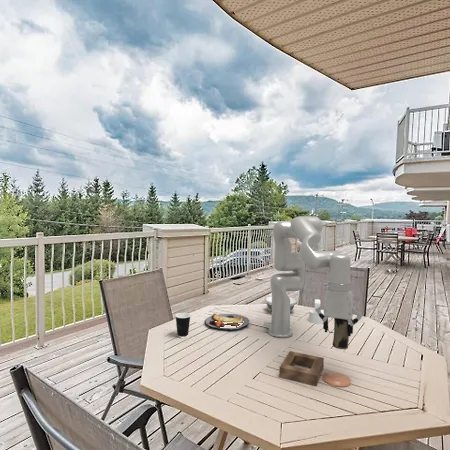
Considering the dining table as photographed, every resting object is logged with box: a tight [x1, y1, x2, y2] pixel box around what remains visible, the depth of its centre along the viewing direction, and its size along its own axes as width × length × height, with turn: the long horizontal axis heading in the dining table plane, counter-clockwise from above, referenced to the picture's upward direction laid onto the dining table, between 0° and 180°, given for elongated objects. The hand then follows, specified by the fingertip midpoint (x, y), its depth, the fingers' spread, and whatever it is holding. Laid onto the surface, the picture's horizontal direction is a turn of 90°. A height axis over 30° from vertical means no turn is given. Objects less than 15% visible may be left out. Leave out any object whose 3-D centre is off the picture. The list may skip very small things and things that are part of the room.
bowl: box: [265, 295, 296, 312], centre depth 203 cm, size 19×19×8 cm
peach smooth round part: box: [322, 371, 351, 388], centre depth 121 cm, size 10×10×1 cm
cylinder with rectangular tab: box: [308, 298, 325, 325], centre depth 186 cm, size 9×9×12 cm
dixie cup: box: [174, 312, 192, 338], centre depth 162 cm, size 8×8×11 cm
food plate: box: [204, 313, 251, 330], centre depth 181 cm, size 25×23×4 cm
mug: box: [327, 318, 350, 350], centre depth 121 cm, size 8×6×12 cm
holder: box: [278, 350, 325, 387], centre depth 127 cm, size 14×16×4 cm
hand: (337, 333), depth 121 cm, fingers closed on mug, 7 cm apart
